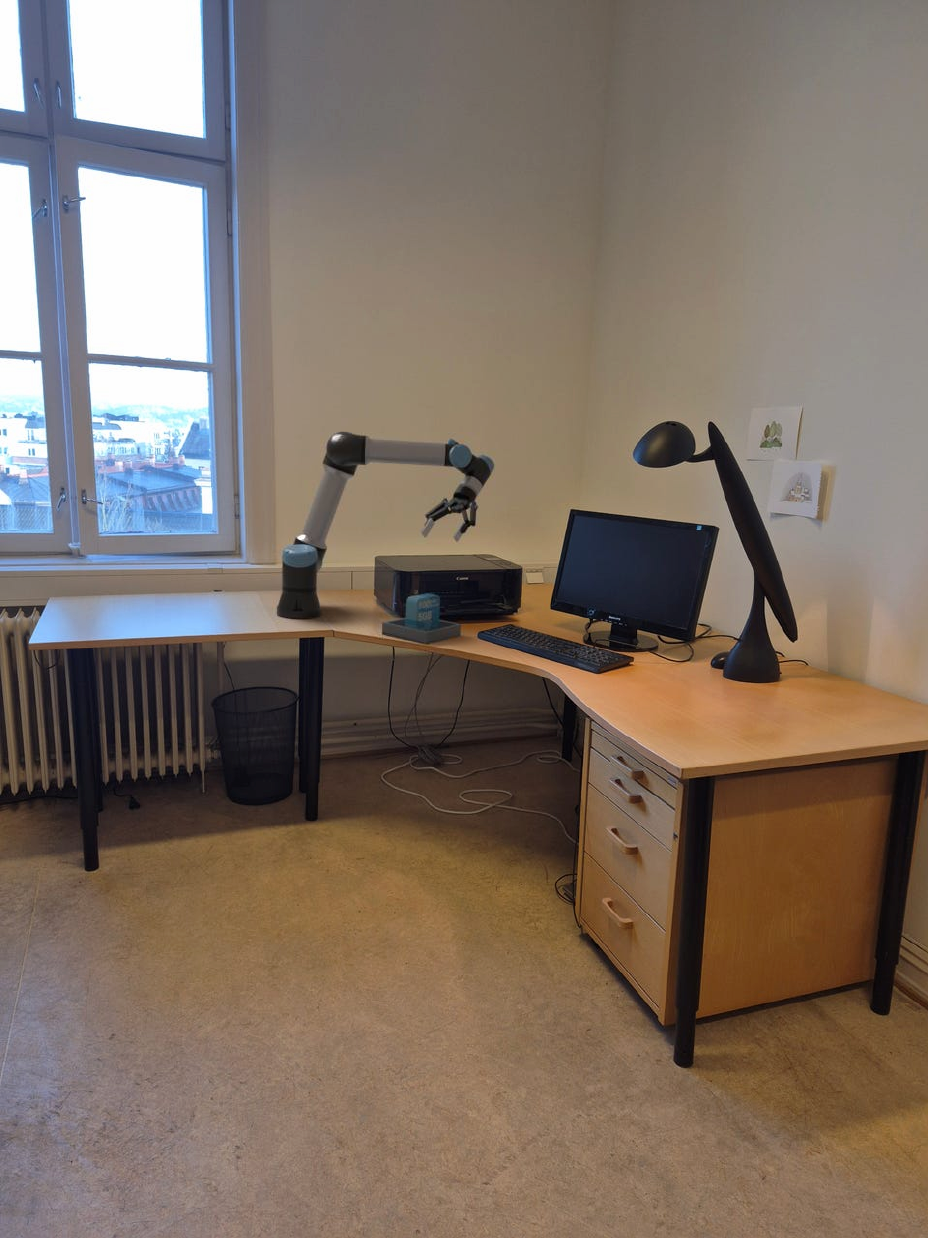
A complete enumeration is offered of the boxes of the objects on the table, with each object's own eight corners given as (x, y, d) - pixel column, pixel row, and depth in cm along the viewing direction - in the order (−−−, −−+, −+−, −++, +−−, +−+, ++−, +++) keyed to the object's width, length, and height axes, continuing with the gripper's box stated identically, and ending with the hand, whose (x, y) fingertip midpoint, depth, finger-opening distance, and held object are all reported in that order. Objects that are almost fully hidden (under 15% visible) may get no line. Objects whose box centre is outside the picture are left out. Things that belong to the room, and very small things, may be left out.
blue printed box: (415, 636, 238) (417, 599, 235) (404, 633, 240) (406, 596, 238) (438, 630, 248) (440, 594, 245) (427, 628, 250) (429, 592, 248)
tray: (381, 634, 242) (382, 622, 241) (417, 626, 256) (417, 615, 255) (426, 644, 232) (426, 632, 231) (460, 635, 246) (461, 624, 245)
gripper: (500, 502, 263) (473, 548, 254) (443, 496, 276) (415, 540, 267) (493, 486, 257) (465, 533, 248) (435, 481, 271) (406, 525, 262)
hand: (439, 536), depth 258 cm, fingers open, 13 cm apart
